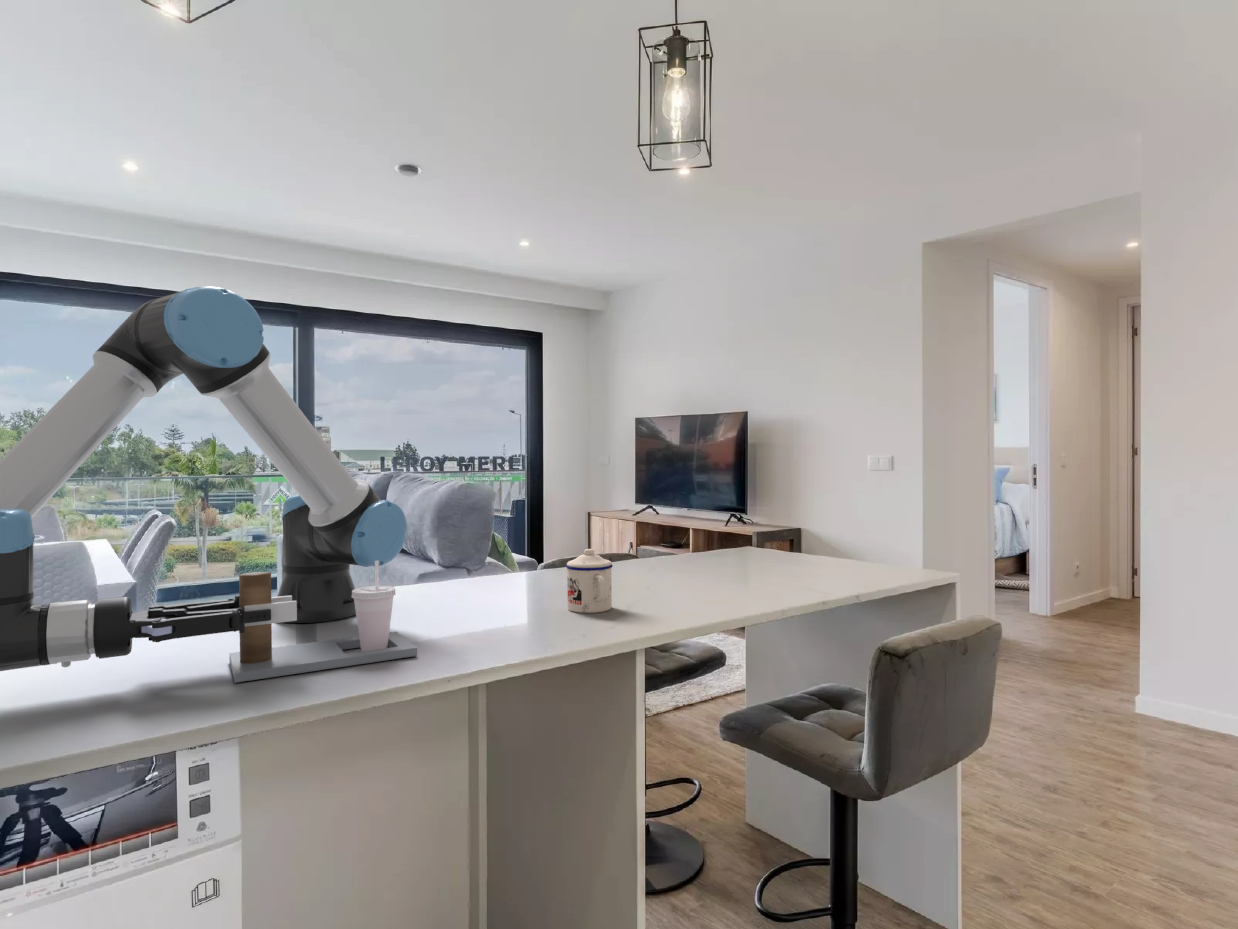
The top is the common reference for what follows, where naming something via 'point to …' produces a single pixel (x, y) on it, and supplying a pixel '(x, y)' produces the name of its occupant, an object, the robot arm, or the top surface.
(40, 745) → the top surface
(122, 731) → the top surface
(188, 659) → the top surface
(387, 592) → the smoothie
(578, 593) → the teacup with lid
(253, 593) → the cup holder tray
